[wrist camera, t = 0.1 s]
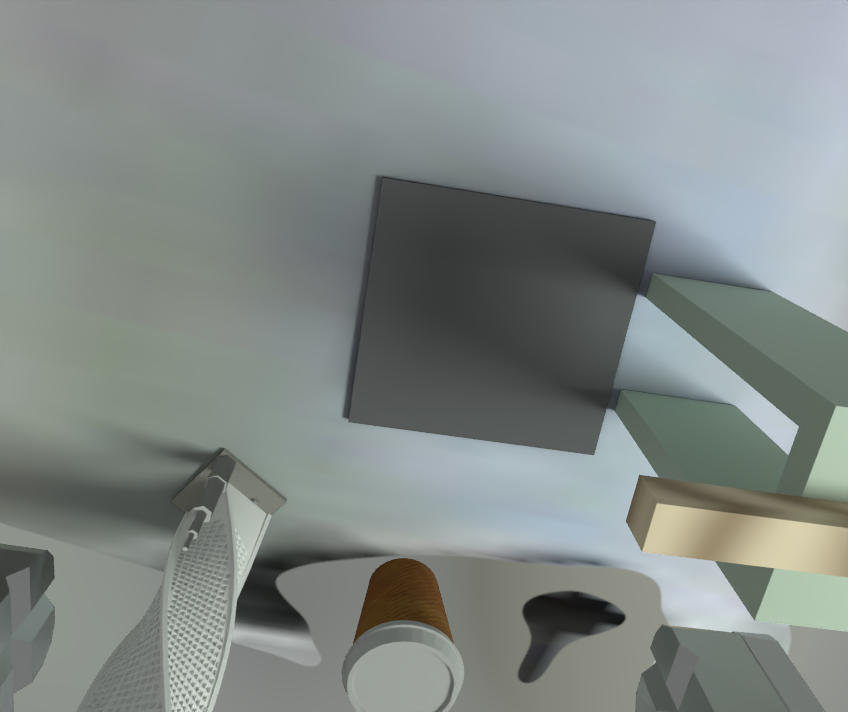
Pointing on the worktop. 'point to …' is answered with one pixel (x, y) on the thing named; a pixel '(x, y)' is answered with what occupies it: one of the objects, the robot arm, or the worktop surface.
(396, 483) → the worktop surface
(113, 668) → the skyscraper
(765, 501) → the bar
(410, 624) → the disposable coffee cup
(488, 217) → the mat
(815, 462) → the bridge
